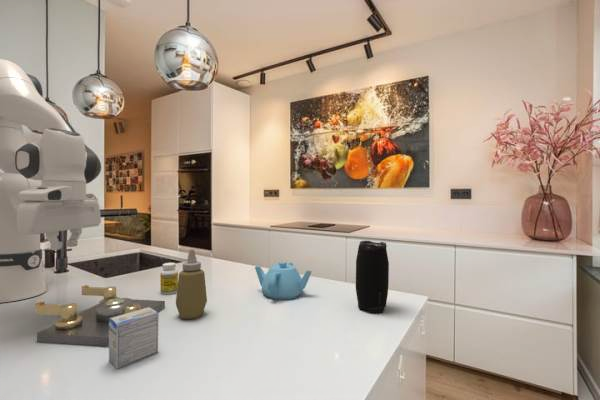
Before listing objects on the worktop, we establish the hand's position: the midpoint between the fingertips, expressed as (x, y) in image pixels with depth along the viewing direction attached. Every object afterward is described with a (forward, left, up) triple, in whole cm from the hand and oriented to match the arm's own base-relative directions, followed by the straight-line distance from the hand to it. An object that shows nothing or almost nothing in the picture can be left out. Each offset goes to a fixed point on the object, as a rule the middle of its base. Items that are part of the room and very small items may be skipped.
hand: (64, 248), depth 74 cm
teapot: (+52, +29, -19) cm, 62 cm away
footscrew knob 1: (+3, -5, -17) cm, 18 cm away
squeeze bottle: (+30, +8, -19) cm, 36 cm away
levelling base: (+11, +1, -19) cm, 22 cm away
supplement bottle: (+14, +25, -19) cm, 35 cm away
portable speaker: (+80, +19, -19) cm, 84 cm away
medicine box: (+28, -13, -19) cm, 36 cm away
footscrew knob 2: (+3, +8, -17) cm, 19 cm away
